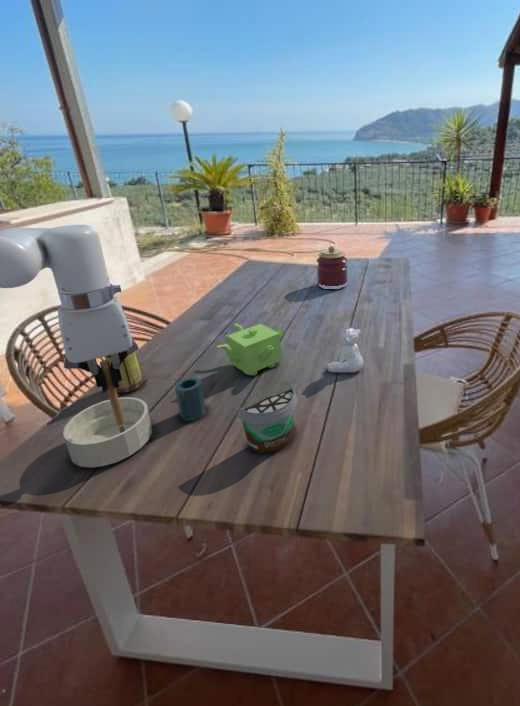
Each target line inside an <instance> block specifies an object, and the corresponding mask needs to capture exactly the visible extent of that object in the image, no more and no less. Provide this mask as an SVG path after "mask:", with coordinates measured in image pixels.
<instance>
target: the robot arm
mask: <svg viewBox="0 0 520 706" xmlns="http://www.w3.org/2000/svg"><path fill="white" fill-rule="evenodd" d="M44 269H50V270H51V272H52V275H53V279H54V283H55V286H56V289H57V294H58V297H59V301H60V303H61V306H58V308H57V317H58V326H59V331H60V332H59V333H60V338H61V340H62V345H63V349H64V353H65V355H64V360H63V368H64V369H66V370H72V369H73V370H74V369H75V370H77V369H80V370H83V371H85V372H88V373H90V374H91V375H92V376H93V377H94V380H95V381H94V382H95V385H96V388H97V389H98V388H101V390H102V393H107V386H106V382H105V379H104V375H103V371H102V369H101V365H100V364H98V360H97V359H100V358H105V356H108V355H111V360H112V361H111V362H110V364H111V365H110V370H111V374H112V378H113V381H114V385H115V388H120V387H119V383H118V382H119V381H122V377H121V373H120V369H119V368H120V366H121V364H122V362H123V361H124V360H125V358H126V357H127V356H128V355H130V354H132V353H134V352H135V353H136V352H137V351H138V350H139V346H138V343H137V342H136V341H135V339H134V338H133V337H132V334H131V329H130V326H129V322H128V320H127V315H126V313H125V311H124V308H123V307H124V306H123V305H122V302H121V300H120V299H119V297H118V296H117V295H116V294H118V293H122V287H121V285H120V284H117V285H115V284H113V283H111V281H110V278H109V274H108V268H107V264H106V261H105V256H104V252H103V248H102V244H101V239H100V236H99V232H98V231H97V229H96V228H94V226H91V225H87V224H68V225H62V226H56V227H9V228H4V229H2V230H0V289H14V288H19V287H22V286H26V285H27V284H29V283H31V282H32V281H33V280H35V279H36V278H37V276H38V275H39V273H40V272H41V271H42V270H44Z"/></svg>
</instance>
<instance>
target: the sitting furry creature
mask: <svg viewBox="0 0 520 706" xmlns="http://www.w3.org/2000/svg"><path fill="white" fill-rule="evenodd" d="M359 335H361V329H354V328H353V327H350V328H347V329H346V330H345V332H343V335H342V339H341V343H342V348H341V351H340V355H339V359H338V361H332V362H330V363H328V365H327V371H328V372H329V373H333V374H334V373H338V374H339V373H341V374H343V373H344V374H347V373H350V374H354V373H357V372H359V371H360V370H361V369H362V368H363V367H364V361H365V360H364V358H363V356H362V354H361V353H360V349H359V346H358V344H357V343H358V340H359Z"/></svg>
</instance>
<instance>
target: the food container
mask: <svg viewBox="0 0 520 706" xmlns="http://www.w3.org/2000/svg"><path fill="white" fill-rule="evenodd" d="M297 405H298V396H297V394H296V391H295V388H293V386H292V385H291V384H290V385H289V389H287V390H285V391H284V392H281V393H278V394H275V395H272V396H267V397H265V398H263V399H261V400H260V401H258V402H256V403H253V405H250V406H248V407H246V408H242V407H241V406H238V409H237V414H236V415H237V418H238V419H239V420H241V423H242V427H243V430H244V434H245V438H246V441H247V446H248V447H249V449H251V450H252V451H254V452H256V453H261V454H269V453H270V454H271V453H275V452H278V451H281V450H283V449H284V448H287V446H288V445H290V443H291V441H292V439H293V435H294V415H295V413H294V412H295V411H294V410H295V409H296V407H297Z"/></svg>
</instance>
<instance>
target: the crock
mask: <svg viewBox="0 0 520 706" xmlns="http://www.w3.org/2000/svg"><path fill="white" fill-rule="evenodd" d="M174 385H175V386H174V390H175V396H176V401H177V405H178V406H177V407H178V411H179V416H180V418H181V420H182V421H184V422H188V423H189V422H190V423H191V422H195V421H198V420H201V418H203V417H204V416H205V415H206V412H207V411H206V403H205V402H206V401H205V396H204V389H203V385H202V380H201V379H200V378H199V377H193V376H191V377H186V378H183V379H181V380H179V381H178V382H176V384H174Z"/></svg>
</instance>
